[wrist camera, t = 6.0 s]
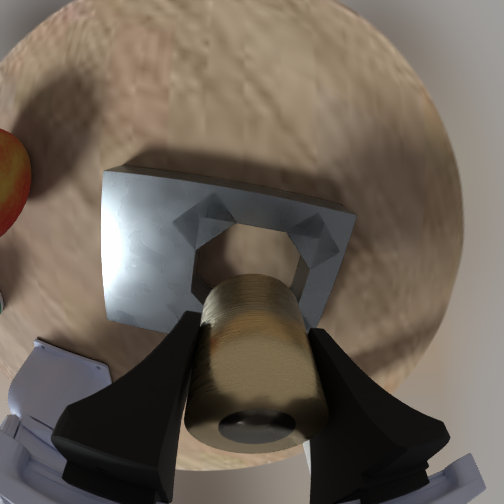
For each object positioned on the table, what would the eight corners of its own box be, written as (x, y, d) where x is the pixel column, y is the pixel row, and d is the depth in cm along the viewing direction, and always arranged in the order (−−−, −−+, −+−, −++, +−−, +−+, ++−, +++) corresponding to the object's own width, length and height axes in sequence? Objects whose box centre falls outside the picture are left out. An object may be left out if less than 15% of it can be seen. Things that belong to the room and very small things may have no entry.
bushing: (198, 342, 13) (182, 447, 8) (210, 265, 11) (187, 377, 6) (283, 353, 14) (300, 455, 8) (311, 283, 12) (354, 390, 6)
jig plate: (119, 300, 19) (107, 319, 16) (121, 165, 15) (103, 170, 13) (299, 329, 20) (305, 352, 18) (341, 204, 16) (356, 215, 14)
